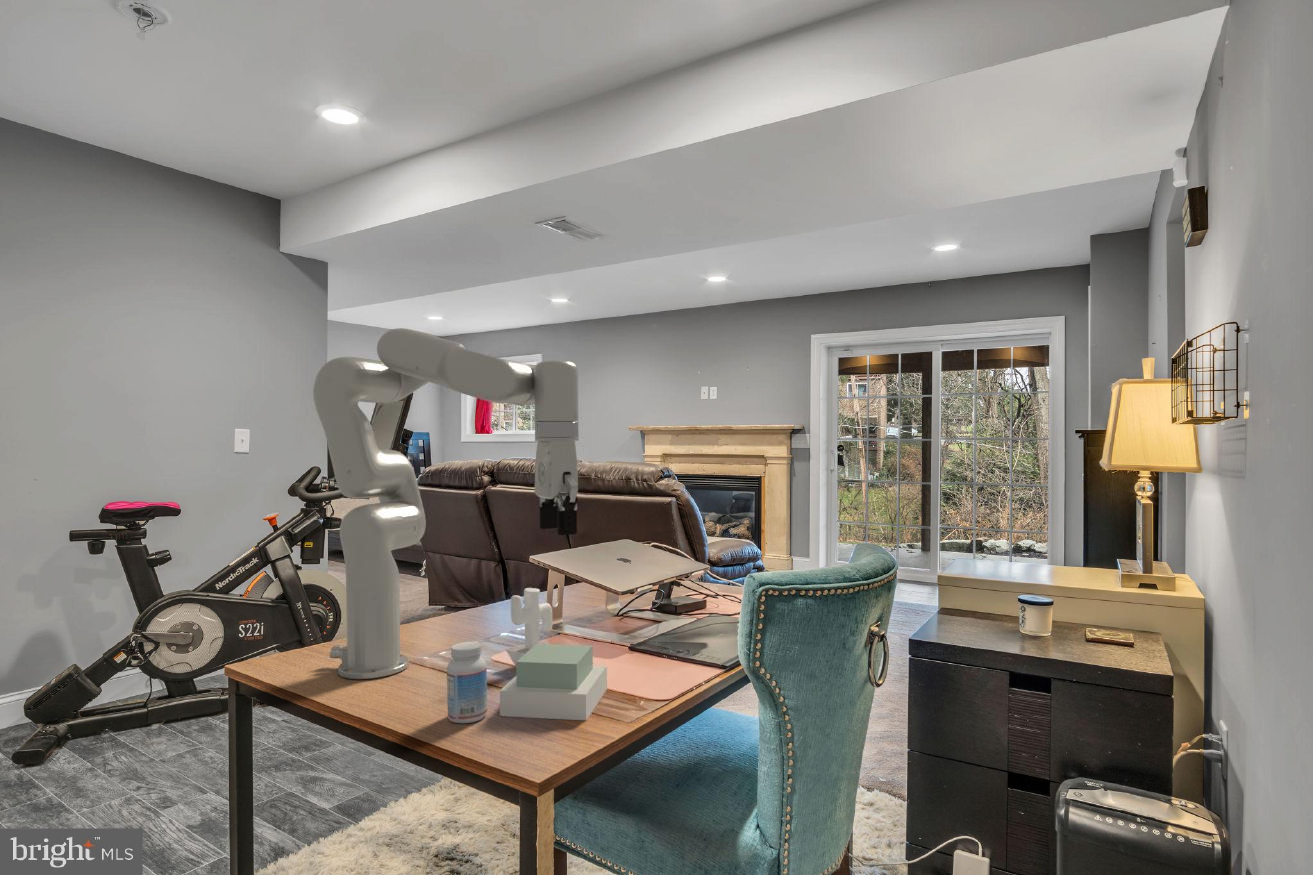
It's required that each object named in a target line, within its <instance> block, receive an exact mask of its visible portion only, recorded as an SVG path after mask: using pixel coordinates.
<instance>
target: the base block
mask: <svg viewBox="0 0 1313 875" xmlns="http://www.w3.org/2000/svg"><path fill="white" fill-rule="evenodd" d="M607 690H608V666H607V665H595V664H593V669H592V671H591V672H590V673H589V675H588V676H587V677H586V678H585V680H584V681H583V682H582V684H581V685H580V686H579V688H578V689H555V688H533V687H516V675H515V676H514V677H513V678H511V679H510V680H509V681H508V683H506V685H504V686H503V687H502V688H501V689H500V690H499V716H500V717H510V718H527V719H528V718H531V719H532V718H533V719H534V718H535V719H548V720H549V719H551V720H552V719H553V720H571V721H587V720H588V719H589V717H590V715H591V714H592V713H593V711H594V710H595V709H596V706H597V705H598V703H600V701H601V699H602V697H603V695H604V694H605V693H606V692H607Z"/></svg>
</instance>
